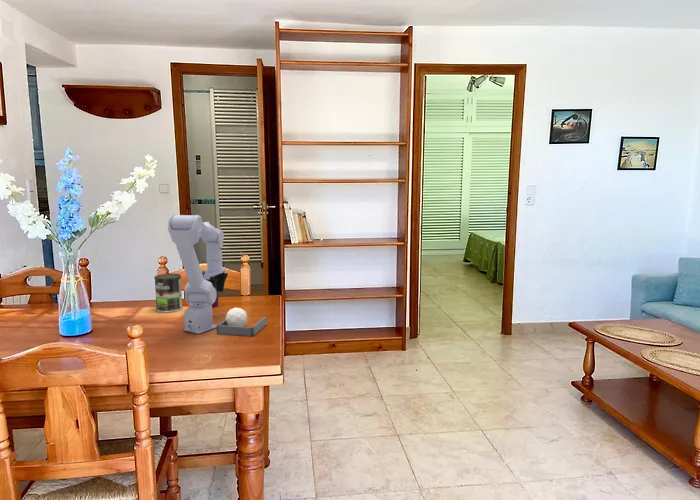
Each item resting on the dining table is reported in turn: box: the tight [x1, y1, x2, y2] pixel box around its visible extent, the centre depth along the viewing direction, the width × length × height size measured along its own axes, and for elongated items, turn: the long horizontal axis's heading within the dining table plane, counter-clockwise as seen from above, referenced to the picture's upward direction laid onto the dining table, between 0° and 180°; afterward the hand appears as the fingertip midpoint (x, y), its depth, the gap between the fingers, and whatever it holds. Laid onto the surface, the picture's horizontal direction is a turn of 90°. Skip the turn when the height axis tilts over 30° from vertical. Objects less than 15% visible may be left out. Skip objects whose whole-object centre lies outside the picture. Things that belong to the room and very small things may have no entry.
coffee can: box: [154, 273, 183, 314], centre depth 207 cm, size 10×10×14 cm
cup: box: [201, 269, 219, 308], centre depth 213 cm, size 7×7×15 cm
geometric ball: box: [224, 307, 248, 327], centre depth 183 cm, size 8×8×8 cm
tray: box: [215, 316, 268, 337], centre depth 183 cm, size 14×14×3 cm
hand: (215, 293), depth 196 cm, fingers open, 7 cm apart
